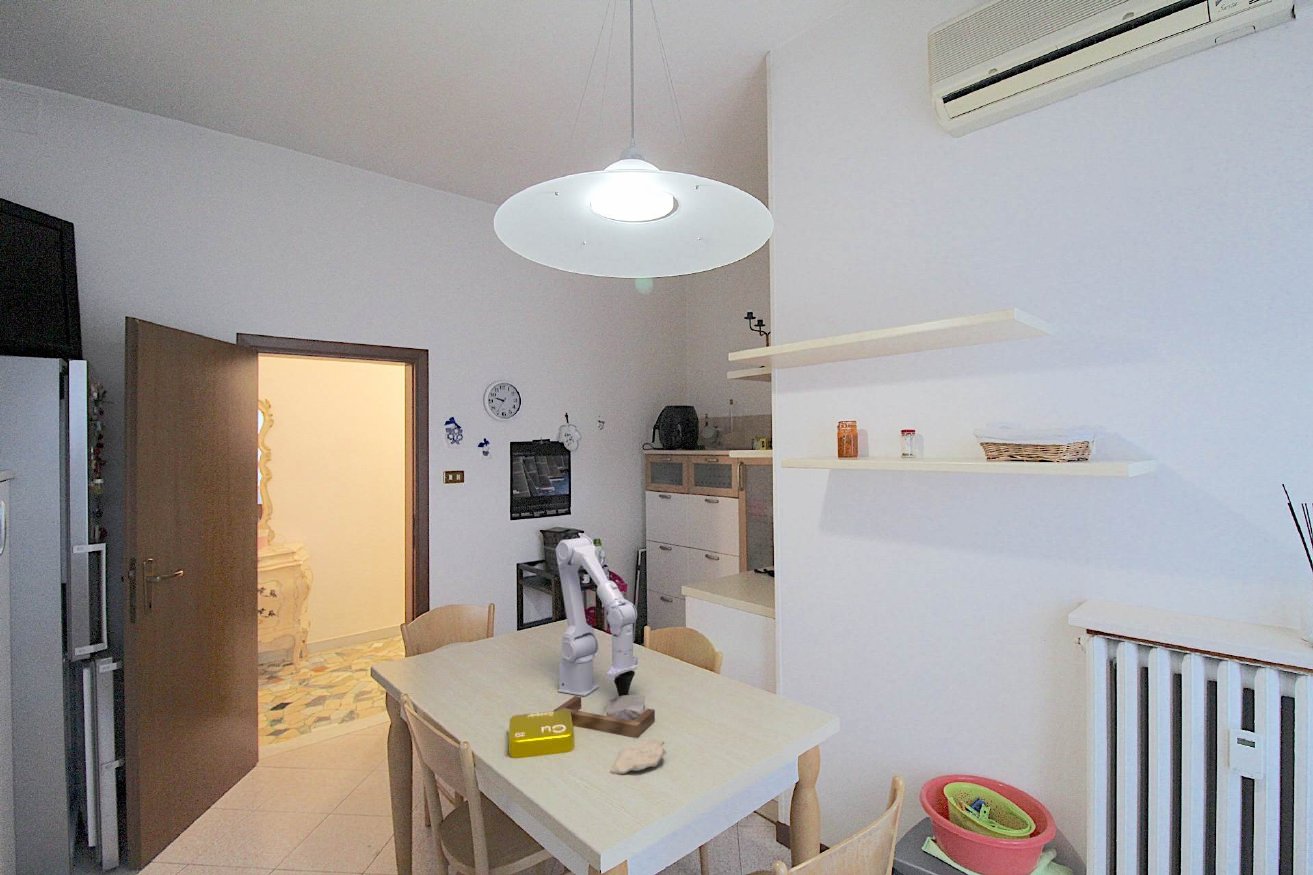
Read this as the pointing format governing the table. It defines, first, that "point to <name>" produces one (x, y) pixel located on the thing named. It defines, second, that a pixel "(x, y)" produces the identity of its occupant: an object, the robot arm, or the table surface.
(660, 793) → the table surface
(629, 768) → the decorative stone
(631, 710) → the stone block
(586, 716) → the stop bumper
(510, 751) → the element tile
